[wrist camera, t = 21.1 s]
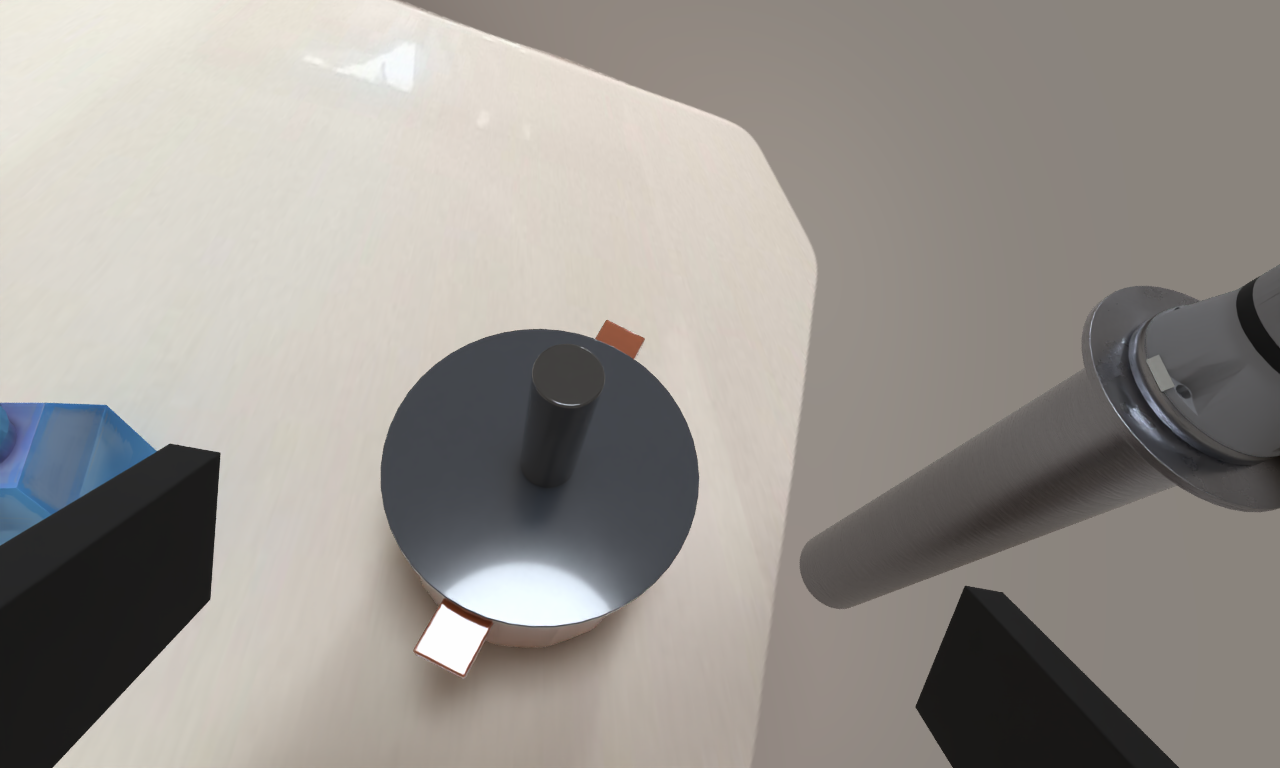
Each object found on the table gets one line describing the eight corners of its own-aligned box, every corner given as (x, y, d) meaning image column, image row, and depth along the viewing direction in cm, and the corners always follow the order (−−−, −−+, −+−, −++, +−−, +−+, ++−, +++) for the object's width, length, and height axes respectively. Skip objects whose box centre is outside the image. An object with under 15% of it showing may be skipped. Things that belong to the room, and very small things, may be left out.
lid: (731, 418, 36) (809, 318, 27) (619, 692, 28) (679, 670, 20) (487, 297, 36) (490, 161, 28) (313, 536, 28) (244, 450, 20)
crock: (688, 450, 45) (740, 377, 36) (561, 742, 36) (589, 740, 26) (509, 361, 46) (517, 266, 37) (335, 626, 36) (286, 586, 27)
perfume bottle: (-9, 568, 34) (-222, 490, 24) (29, 454, 37) (-146, 340, 26) (131, 561, 35) (-12, 485, 25) (158, 452, 38) (39, 343, 28)
